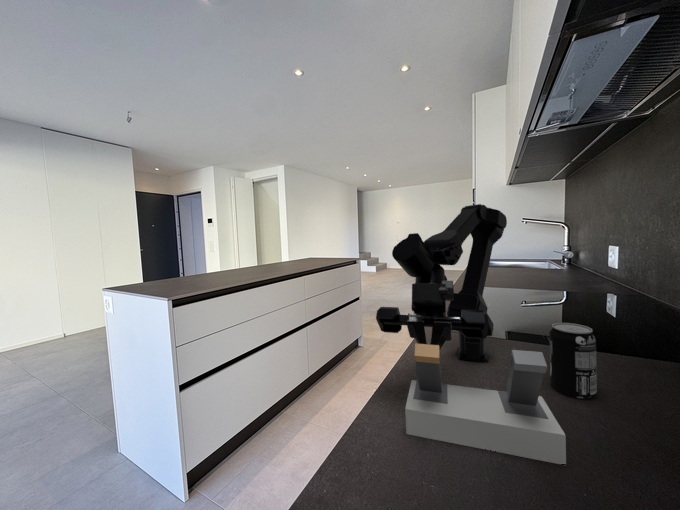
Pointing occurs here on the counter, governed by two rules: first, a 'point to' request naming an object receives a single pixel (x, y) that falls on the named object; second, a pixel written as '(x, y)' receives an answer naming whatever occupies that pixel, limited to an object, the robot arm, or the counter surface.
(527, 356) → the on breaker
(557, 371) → the beverage can
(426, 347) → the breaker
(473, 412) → the grey mounting base
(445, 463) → the counter surface
